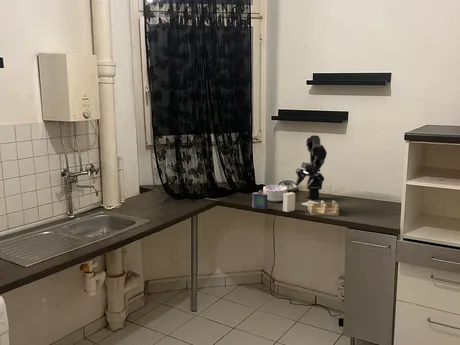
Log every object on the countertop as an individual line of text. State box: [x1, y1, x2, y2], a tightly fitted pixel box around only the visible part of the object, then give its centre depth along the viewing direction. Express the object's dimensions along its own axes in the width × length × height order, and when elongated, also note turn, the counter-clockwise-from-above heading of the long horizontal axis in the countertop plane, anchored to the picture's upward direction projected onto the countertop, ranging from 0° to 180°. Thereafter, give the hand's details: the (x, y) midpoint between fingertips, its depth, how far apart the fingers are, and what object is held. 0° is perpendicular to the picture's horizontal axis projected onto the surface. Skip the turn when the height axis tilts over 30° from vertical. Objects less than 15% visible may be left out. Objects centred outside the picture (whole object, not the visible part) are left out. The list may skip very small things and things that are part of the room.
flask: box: [252, 189, 268, 210], centre depth 276 cm, size 9×3×11 cm, turn 65°
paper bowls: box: [262, 184, 289, 202], centre depth 295 cm, size 15×15×8 cm
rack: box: [307, 199, 340, 217], centre depth 269 cm, size 14×15×5 cm
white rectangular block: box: [282, 191, 296, 213], centre depth 271 cm, size 4×6×10 cm, turn 126°
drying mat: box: [301, 200, 318, 207], centre depth 283 cm, size 12×9×1 cm
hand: (301, 186), depth 272 cm, fingers open, 9 cm apart
